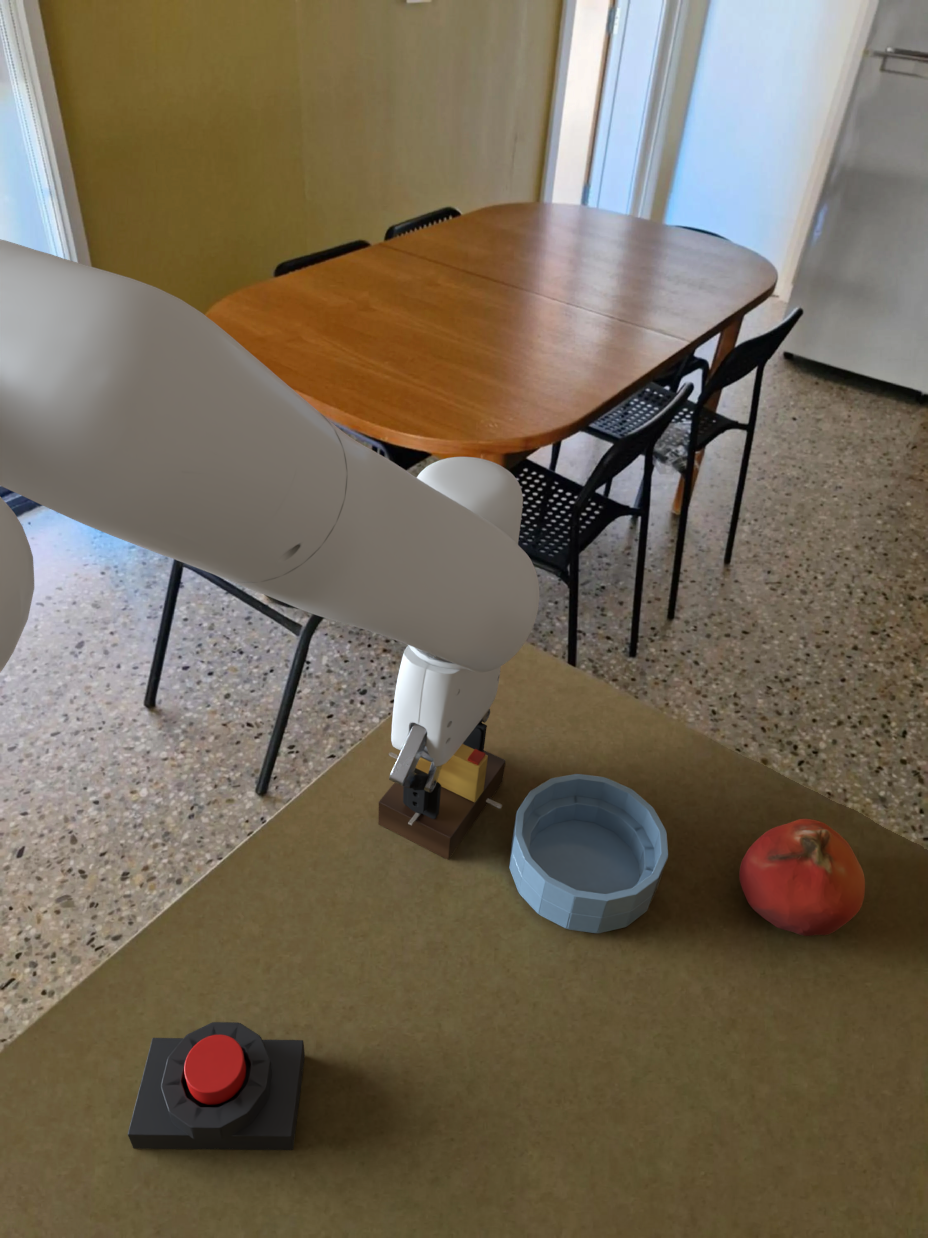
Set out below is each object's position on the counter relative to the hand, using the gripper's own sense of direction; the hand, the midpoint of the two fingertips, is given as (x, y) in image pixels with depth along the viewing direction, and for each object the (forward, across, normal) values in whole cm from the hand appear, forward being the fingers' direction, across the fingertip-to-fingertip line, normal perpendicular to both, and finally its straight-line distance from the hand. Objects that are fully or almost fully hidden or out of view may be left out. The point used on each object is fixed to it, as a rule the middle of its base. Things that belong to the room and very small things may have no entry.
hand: (444, 778), depth 77 cm
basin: (+3, 0, +14) cm, 14 cm away
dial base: (+3, 0, 0) cm, 3 cm away
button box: (+3, +29, 0) cm, 29 cm away
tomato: (+3, -6, +30) cm, 30 cm away
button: (0, +29, 0) cm, 29 cm away
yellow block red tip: (0, 0, 0) cm, 0 cm away
